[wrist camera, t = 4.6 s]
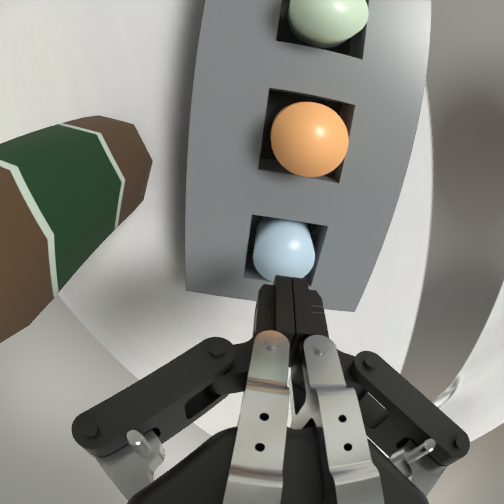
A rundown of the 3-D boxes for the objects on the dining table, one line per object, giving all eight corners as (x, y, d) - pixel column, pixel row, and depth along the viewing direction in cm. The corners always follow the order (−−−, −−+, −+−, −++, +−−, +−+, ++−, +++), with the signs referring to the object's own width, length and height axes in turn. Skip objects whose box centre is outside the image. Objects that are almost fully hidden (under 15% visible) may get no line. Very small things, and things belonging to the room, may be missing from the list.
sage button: (291, -11, 10) (294, -31, 7) (354, 3, 10) (370, -13, 7) (283, 41, 12) (286, 28, 9) (348, 54, 12) (365, 46, 9)
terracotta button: (275, 96, 13) (276, 95, 11) (339, 109, 13) (355, 111, 11) (267, 157, 15) (265, 170, 13) (328, 168, 15) (339, 183, 13)
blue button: (259, 205, 18) (257, 226, 15) (314, 214, 18) (321, 235, 15) (252, 253, 20) (249, 279, 17) (303, 260, 20) (307, 286, 17)
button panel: (226, -38, 10) (217, -58, 7) (410, 1, 10) (431, -10, 7) (195, 265, 21) (185, 290, 19) (346, 286, 21) (354, 311, 19)
